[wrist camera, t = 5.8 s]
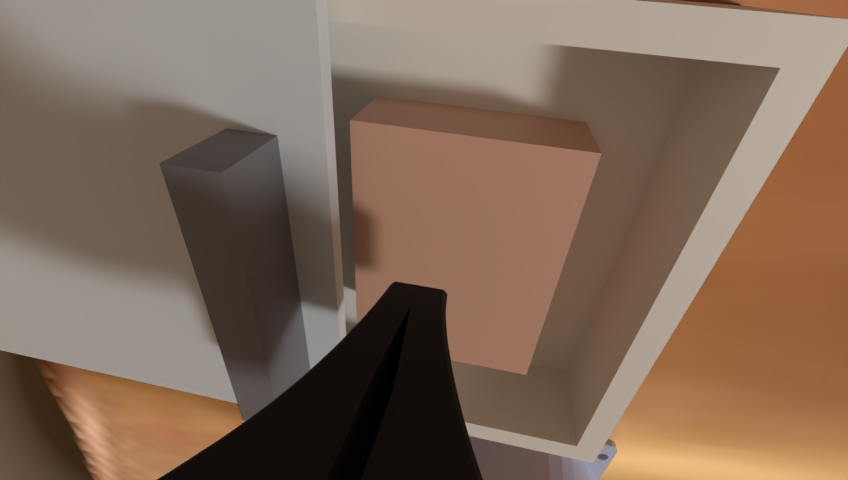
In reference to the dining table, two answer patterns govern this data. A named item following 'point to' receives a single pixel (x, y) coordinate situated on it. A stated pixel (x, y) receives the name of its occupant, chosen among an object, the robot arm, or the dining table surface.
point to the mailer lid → (170, 191)
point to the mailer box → (558, 181)
